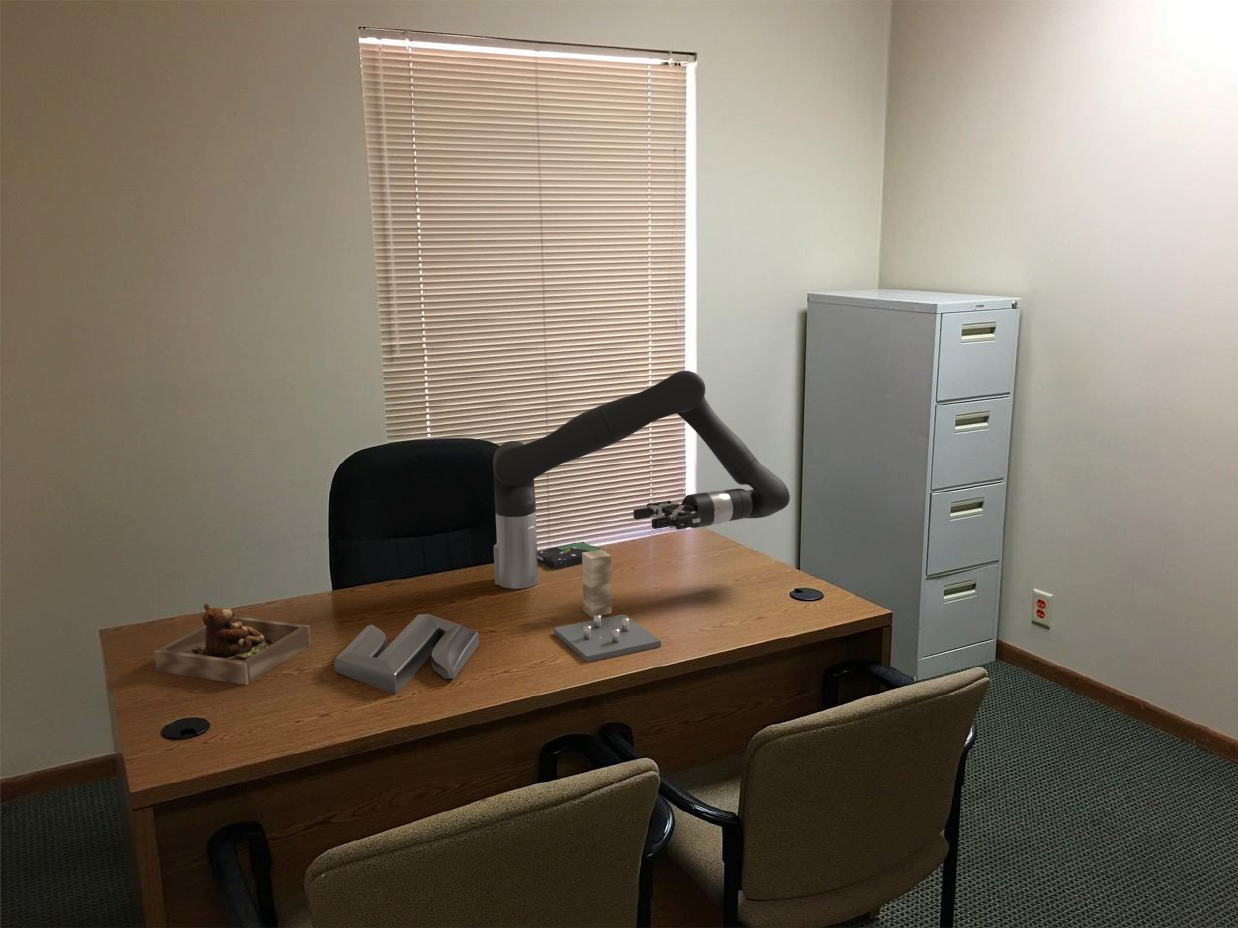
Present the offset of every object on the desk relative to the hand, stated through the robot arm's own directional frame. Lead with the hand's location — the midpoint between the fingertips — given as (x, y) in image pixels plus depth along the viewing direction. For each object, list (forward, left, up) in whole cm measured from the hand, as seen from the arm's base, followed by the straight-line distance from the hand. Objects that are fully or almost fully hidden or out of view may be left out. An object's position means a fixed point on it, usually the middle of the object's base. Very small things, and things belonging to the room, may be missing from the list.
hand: (643, 519), depth 215 cm
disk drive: (-27, +24, -20) cm, 41 cm away
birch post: (-8, -8, -19) cm, 22 cm away
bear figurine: (-68, -51, -20) cm, 87 cm away
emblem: (-34, -42, -20) cm, 57 cm away
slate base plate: (-1, -22, -19) cm, 29 cm away
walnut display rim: (-67, -51, -19) cm, 86 cm away
